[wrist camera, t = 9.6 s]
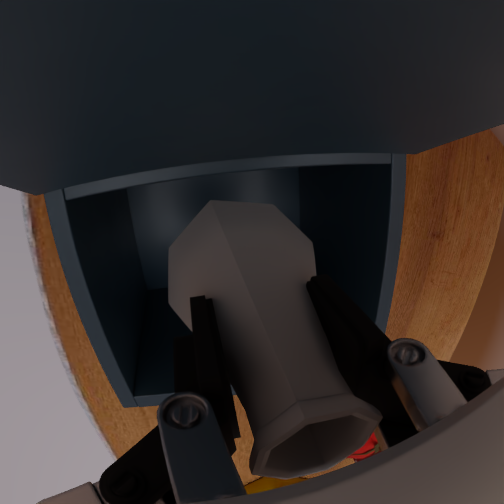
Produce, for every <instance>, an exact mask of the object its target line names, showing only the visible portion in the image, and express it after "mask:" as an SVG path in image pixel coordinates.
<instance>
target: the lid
mask: <svg viewBox="0 0 504 504" xmlns="http://www.w3.org/2000/svg"><path fill="white" fill-rule="evenodd" d="M502 124H504V0H0V185H2V186H6V187H9V188H13V189H16V190H19V191H23V192H26V193H30V194H33V195H40V194H44V193H48V192H51V191H55V190H59V189H63V188H67V187H71V186H76V185H80V184H84V183H89V182H93V181H98V180H103V179H108V178H113V177H118V176H123V175H128V174H134V173H139V172H145V171H151V170H157V169H163V168H170V167H177V166H184V165H191V164H199V163H207V162H215V161H224V160H234V159H244V158H256V157H268V156H283V155H301V154H326V153H397V154H417V153H420V152H423V151H426V150H429V149H431V148H434V147H437V146H440V145H443V144H446V143H448V142H451V141H454V140H457V139H460V138H463V137H466V136H469V135H472V134H475V133H478V132H481V131H484V130H487V129H490V128H493V127H496V126H499V125H502Z"/></svg>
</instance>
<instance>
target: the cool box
mask: <svg viewBox="0 0 504 504" xmlns="http://www.w3.org/2000/svg"><path fill="white" fill-rule="evenodd" d="M405 182H406V154H397V153H326V154H301V155H283V156H268V157H256V158H244V159H234V160H224V161H215V162H207V163H199V164H191V165H184V166H177V167H170V168H163V169H157V170H151V171H145V172H139V173H134V174H128V175H123V176H118V177H113V178H108V179H103V180H98V181H93V182H89V183H84V184H80V185H76V186H71V187H67V188H63V189H59V190H55V191H51V192H48V193H44V197H45V202H46V207H47V212H48V216H49V220H50V225H51V229H52V233H53V237H54V240H55V244H56V248H57V251H58V255H59V258H60V261H61V265H62V268H63V271H64V274H65V277H66V280H67V283H68V286H69V289H70V292H71V295H72V298H73V300H74V303H75V306H76V308H77V311H78V313H79V316H80V319H81V321H82V324H83V326H84V328H85V331H86V333H87V335H88V338H89V340H90V342H91V345H92V347H93V349H94V351H95V353H96V356H97V358H98V360H99V362H100V364H101V366H102V368H103V370H104V372H105V374H106V376H107V378H108V380H109V382H110V384H111V386H112V388H113V389H114V391H115V393H116V395H117V397H118V399H119V400H120V402H121V404H122V406H123V407H124V408H128V407H138V406H139V407H146V406H157V405H160V404H161V403H162V401H163V400H164V399H166V398H167V397H169V396H170V395H172V394H175V391H174V361H173V338H174V337H179V336H186V335H193V333H192V331H191V330H190V329H189V328H188V326H187V325H186V324H185V323H184V322H183V321H182V319H181V318H180V317H179V316H178V315H177V314H176V312H175V311H174V310H173V308H172V307H171V306H170V304H169V303H168V257H169V247H170V246H171V245H172V244H173V242H174V241H175V240H176V239H177V238H178V236H179V235H180V234H181V233H182V232H183V231H184V229H185V228H186V227H187V226H188V225H189V224H190V222H191V221H192V220H193V219H194V218H195V217H196V216H197V214H198V213H199V212H200V211H201V210H202V209H203V208H204V206H205V205H206V204H207V203H208V202H209V201H210V200H218V201H234V202H249V203H262V204H273V205H275V206H276V207H277V208H278V209H279V210H280V211H281V212H282V213H283V214H284V215H285V216H286V217H287V218H288V219H289V220H290V221H291V222H292V223H293V224H294V225H295V226H296V227H297V228H298V229H299V230H300V231H302V232H303V233H304V234H305V235H306V236H307V237H308V238H309V239H310V240H311V241H312V243H313V249H314V256H315V265H316V276H318V275H323V274H327V275H328V276H329V277H330V278H331V279H332V280H333V281H334V282H335V283H336V284H337V285H338V286H339V287H340V288H341V289H342V290H343V291H344V292H345V293H346V294H347V295H348V296H349V297H350V298H351V299H352V300H353V302H354V303H355V304H357V305H358V306H359V307H360V308H361V309H362V311H363V312H364V313H365V314H366V315H367V316H368V317H369V318H370V319H371V320H372V321H373V322H374V323H375V324H376V325H377V326H378V328H379V329H380V330H381V331H382V332H383V333H384V334H385V331H386V327H387V322H388V317H389V312H390V307H391V302H392V297H393V291H394V285H395V279H396V273H397V266H398V259H399V251H400V243H401V234H402V224H403V213H404V200H405ZM230 384H231V383H230ZM231 390H232V395H236V393H235V391H234V389H233V387H232V385H231Z"/></svg>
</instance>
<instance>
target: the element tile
mask: <svg viewBox="0 0 504 504" xmlns="http://www.w3.org/2000/svg"><path fill="white" fill-rule="evenodd" d="M305 480H308V479H304V478H299V477H296V478H291V479H286V480H285V479H278V478H271V477H262V478H260V479H258V480H256V481H254V482H252V483H250V484H248V485H246V486H244V487H245V490H246V492H247V494H253V493H258V492H263V491H267V490H271V489H275V488H279V487H283V486H287V485H291V484H295V483H298V482H301V481H305Z"/></svg>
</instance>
